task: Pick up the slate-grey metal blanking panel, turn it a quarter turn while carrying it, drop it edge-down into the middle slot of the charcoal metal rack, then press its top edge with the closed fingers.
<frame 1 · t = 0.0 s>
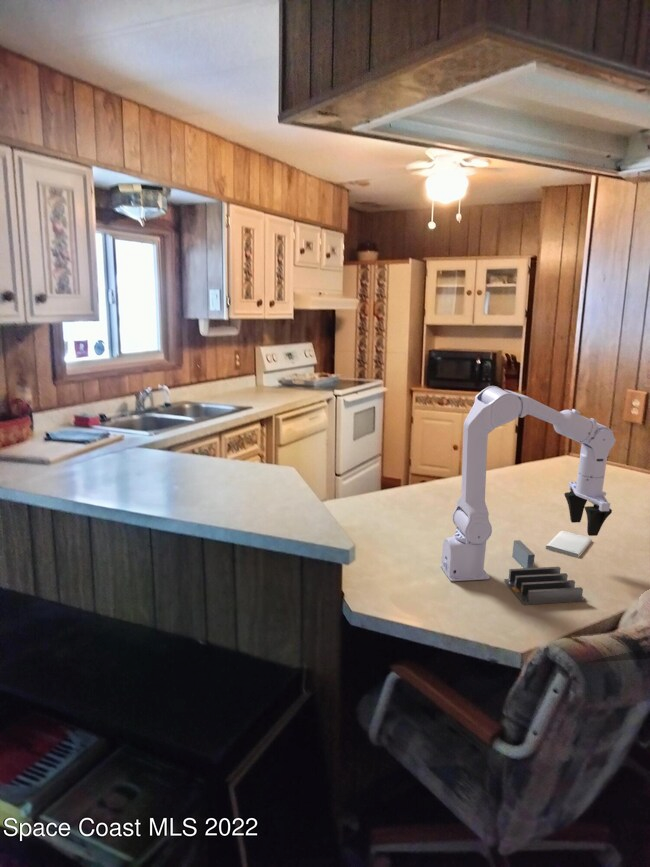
hand: (583, 528, 144), 10 cm above the kitchen counter, tool pointing down, fingers open, 7 cm apart
blanking panel: (522, 564, 148), on the kitchen counter
hard drive: (568, 547, 159), on the kitchen counter
slot rack: (543, 590, 136), on the kitchen counter
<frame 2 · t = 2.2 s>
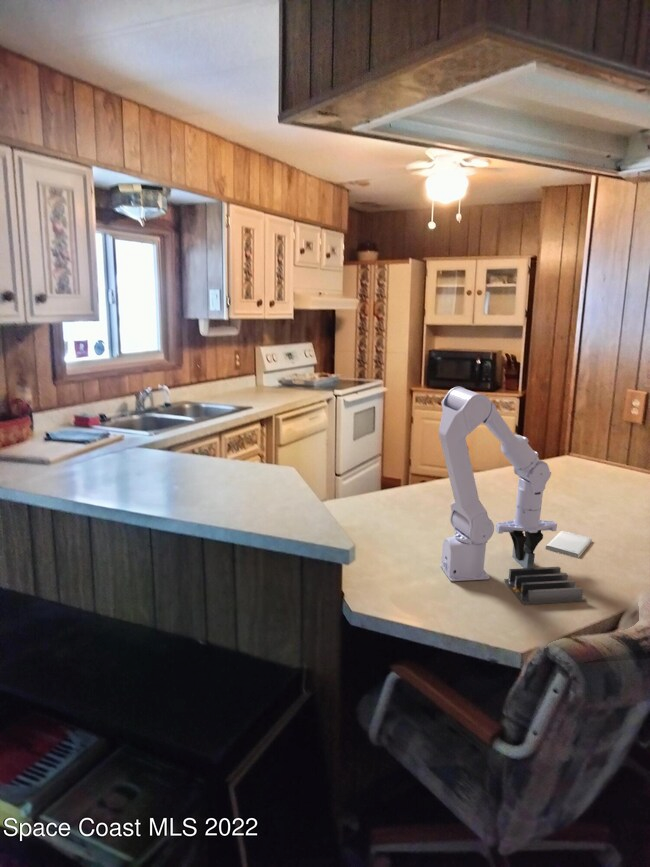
hand: (522, 558, 148), 1 cm above the kitchen counter, tool pointing down, fingers closed on blanking panel, 2 cm apart
blanking panel: (522, 563, 148), on the kitchen counter, touching gripper
everything else where it was.
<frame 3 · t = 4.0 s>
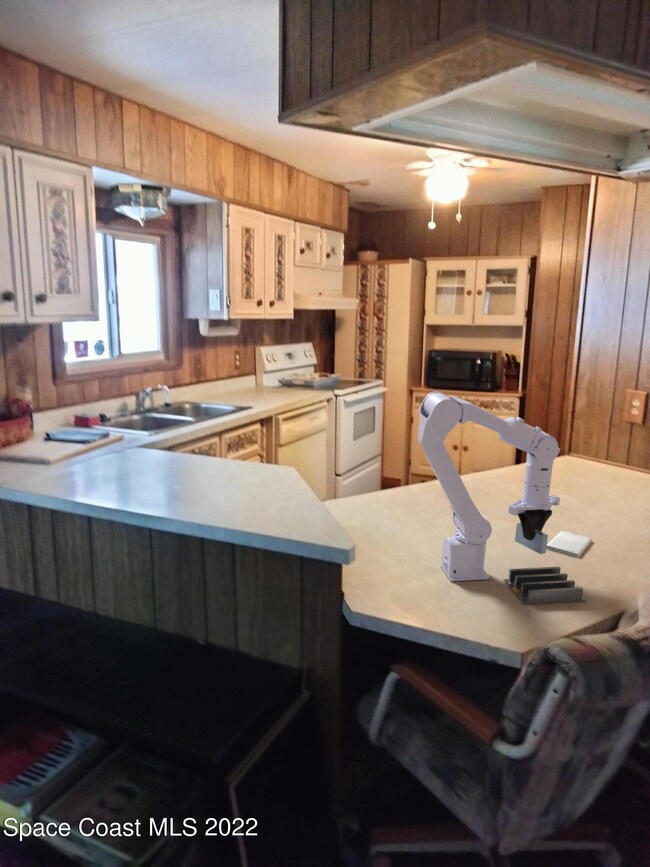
hand: (531, 537, 143), 8 cm above the kitchen counter, tool pointing down, fingers closed on blanking panel
blanking panel: (529, 546, 143), point 6 cm above the kitchen counter, touching gripper
everything else where it was.
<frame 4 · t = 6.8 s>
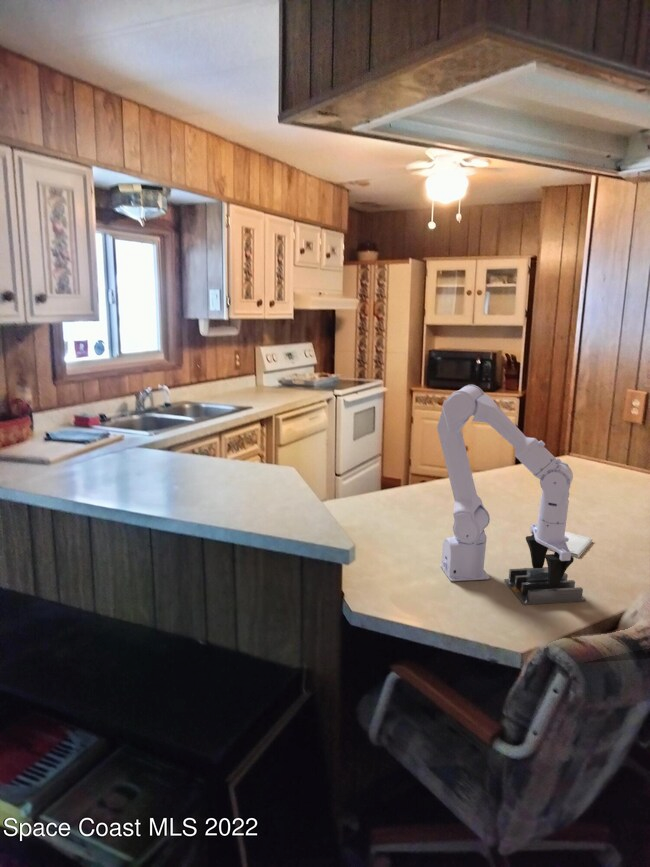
hand: (545, 575, 135), 4 cm above the kitchen counter, tool pointing down, fingers open, 7 cm apart
blanking panel: (543, 588, 135), resting on slot rack
everything else where it was.
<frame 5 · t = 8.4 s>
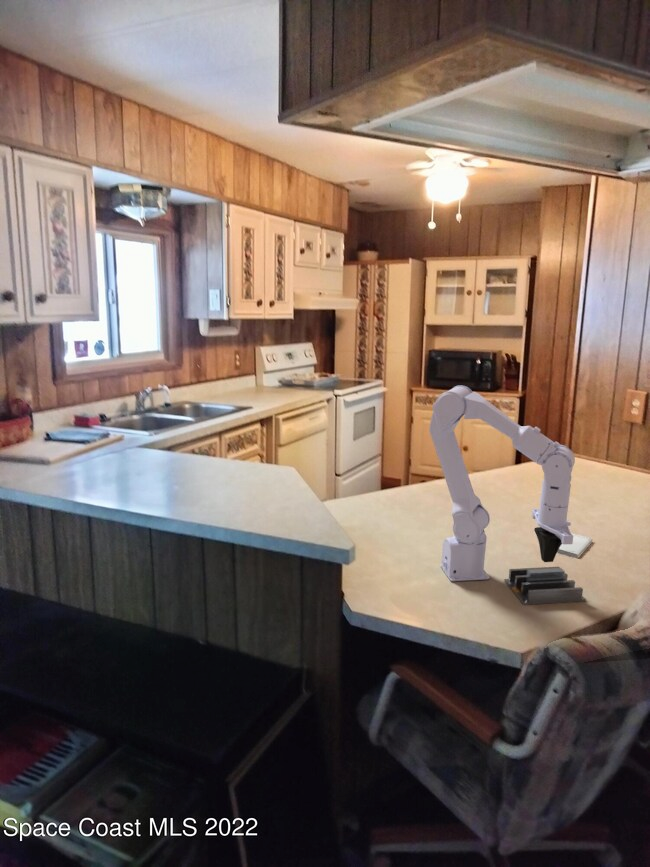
hand: (547, 560, 134), 7 cm above the kitchen counter, tool pointing down, fingers closed
nothing on the kitchen counter moved.
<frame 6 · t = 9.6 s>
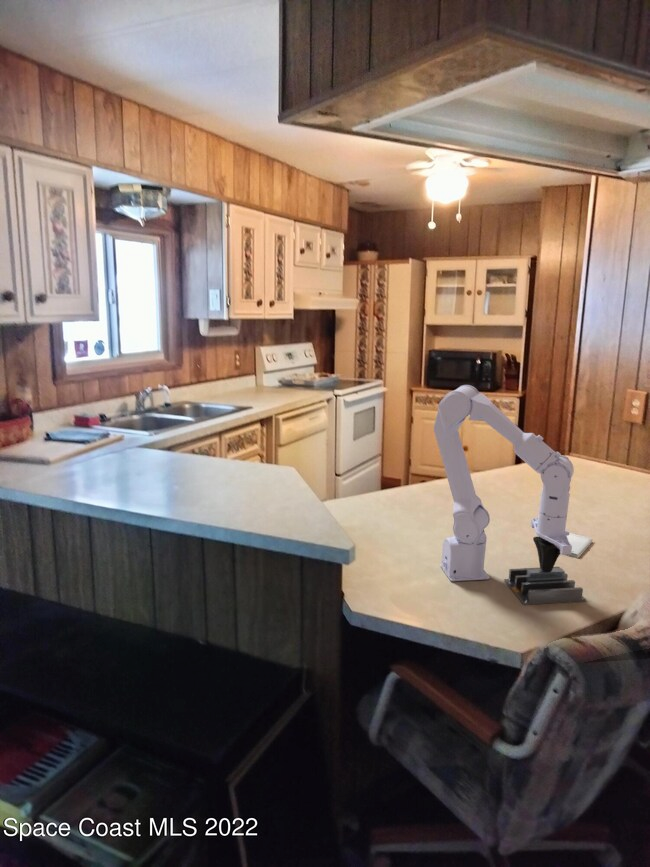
hand: (546, 569, 134), 5 cm above the kitchen counter, tool pointing down, fingers closed
nothing on the kitchen counter moved.
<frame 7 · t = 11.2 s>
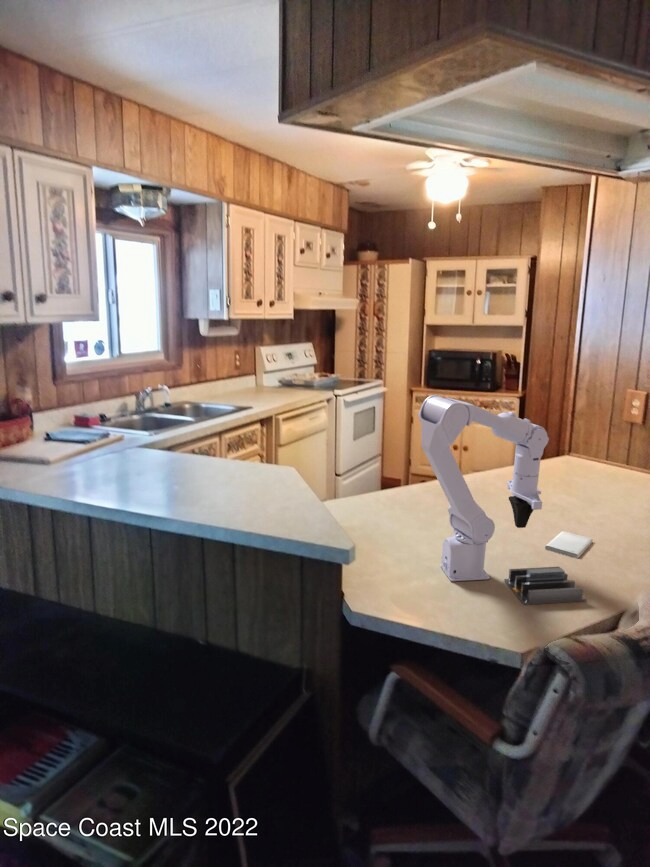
hand: (520, 526, 147), 9 cm above the kitchen counter, tool pointing down, fingers closed
nothing on the kitchen counter moved.
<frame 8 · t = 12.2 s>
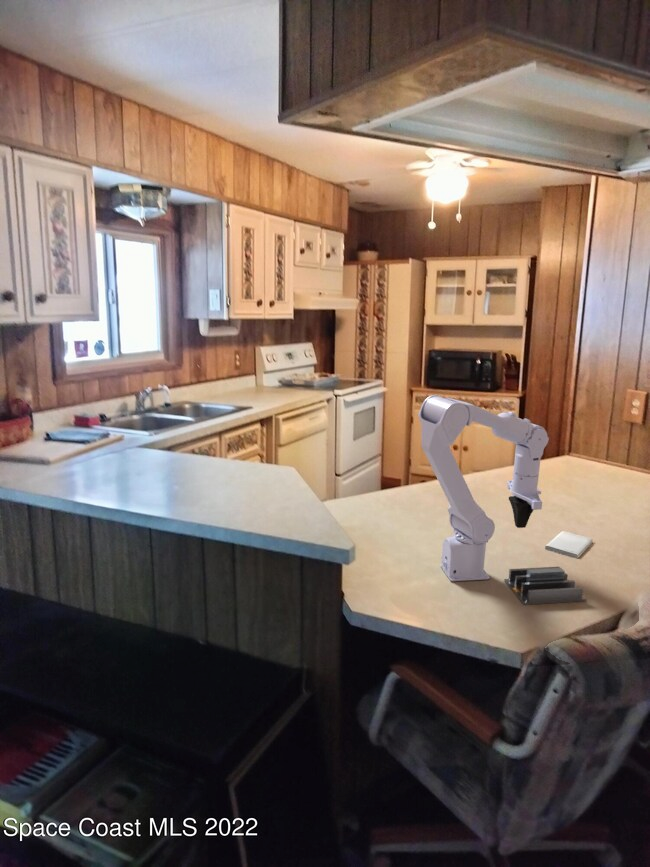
hand: (520, 526, 147), 9 cm above the kitchen counter, tool pointing down, fingers closed
nothing on the kitchen counter moved.
at the end: blanking panel 0.0 cm off-centre on the slot rack, point 0.5 cm above the slot rack's base; blanking panel tilted 0°; the gripper is holding nothing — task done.
